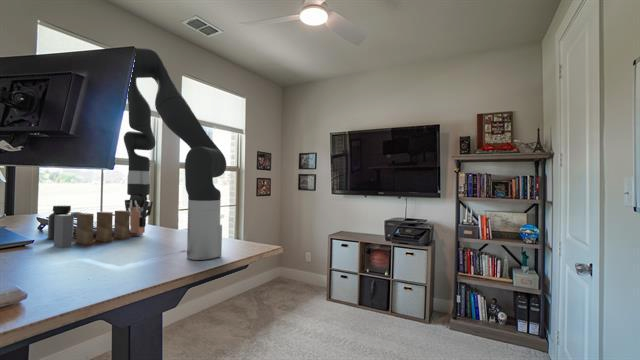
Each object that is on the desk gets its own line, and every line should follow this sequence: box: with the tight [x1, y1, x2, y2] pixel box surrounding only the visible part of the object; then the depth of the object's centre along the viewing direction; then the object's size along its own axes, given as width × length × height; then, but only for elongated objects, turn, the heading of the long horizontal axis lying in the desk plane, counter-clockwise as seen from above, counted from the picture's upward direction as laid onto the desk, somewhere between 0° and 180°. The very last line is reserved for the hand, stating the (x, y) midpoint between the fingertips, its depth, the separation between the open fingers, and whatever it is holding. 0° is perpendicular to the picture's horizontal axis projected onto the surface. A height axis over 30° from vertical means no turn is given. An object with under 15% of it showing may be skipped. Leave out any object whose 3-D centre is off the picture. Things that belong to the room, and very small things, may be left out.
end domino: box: [53, 215, 73, 249], centre depth 93 cm, size 2×5×10 cm, turn 65°
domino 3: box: [113, 209, 130, 240], centre depth 109 cm, size 2×5×10 cm, turn 65°
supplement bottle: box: [47, 205, 75, 241], centre depth 104 cm, size 7×7×12 cm
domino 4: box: [129, 207, 146, 234], centre depth 114 cm, size 2×5×10 cm, turn 65°
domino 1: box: [75, 212, 95, 246], centre depth 98 cm, size 2×5×10 cm, turn 65°
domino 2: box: [95, 211, 114, 243], centre depth 104 cm, size 2×5×10 cm, turn 65°
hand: (137, 226), depth 114 cm, fingers closed on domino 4, 4 cm apart
